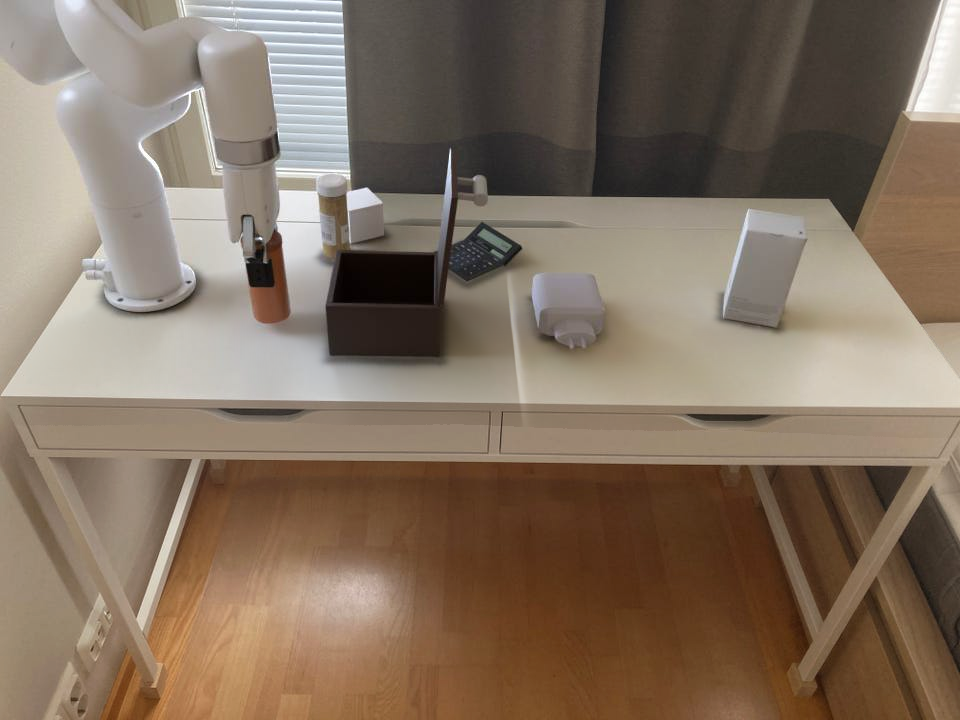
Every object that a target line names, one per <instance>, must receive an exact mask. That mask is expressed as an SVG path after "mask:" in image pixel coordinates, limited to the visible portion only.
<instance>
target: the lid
mask: <svg viewBox="0 0 960 720" xmlns="http://www.w3.org/2000/svg"><path fill="white" fill-rule="evenodd" d="M457 149H458V148H457V147H453V146H452V147H450V148H449V155H448V156H449V157H448V165H447V171H446V180H445V187H444V196H443V204H442V213H441V221H440V228H439V236H438V244H437V251H438V287H437V305H440V307H443V306H444V305H445V297H446V292H447V291H446V290H447V283H448V275H449V270H450V269H449V262H450V254H451V247H452V245H453V238H454V232H455V231H454V230H455V224H456V217H457V210H458V201H460V200H461V201H469V202H473V204H474V205H476V206H477V207H485V206H486V205H487V204H488V202H489V195H488V185H487V184H488V183H487V178H486V177H485V176H484V175H482V174H477V175H475V176H474V177H472V178H470V177H462V176H461V177H459V176H458V151H457ZM459 185H460V186H470V187H472V192H471V193H470V192H461V191H459Z"/></svg>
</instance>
